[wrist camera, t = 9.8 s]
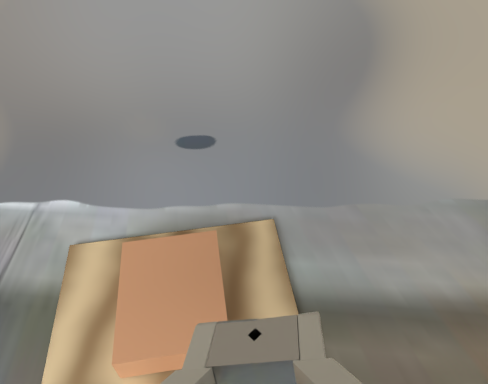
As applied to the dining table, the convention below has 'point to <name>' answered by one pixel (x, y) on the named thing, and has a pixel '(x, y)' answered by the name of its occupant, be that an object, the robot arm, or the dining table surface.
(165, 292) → the terracotta tile
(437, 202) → the dining table surface
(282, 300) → the oak board
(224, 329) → the robot arm
